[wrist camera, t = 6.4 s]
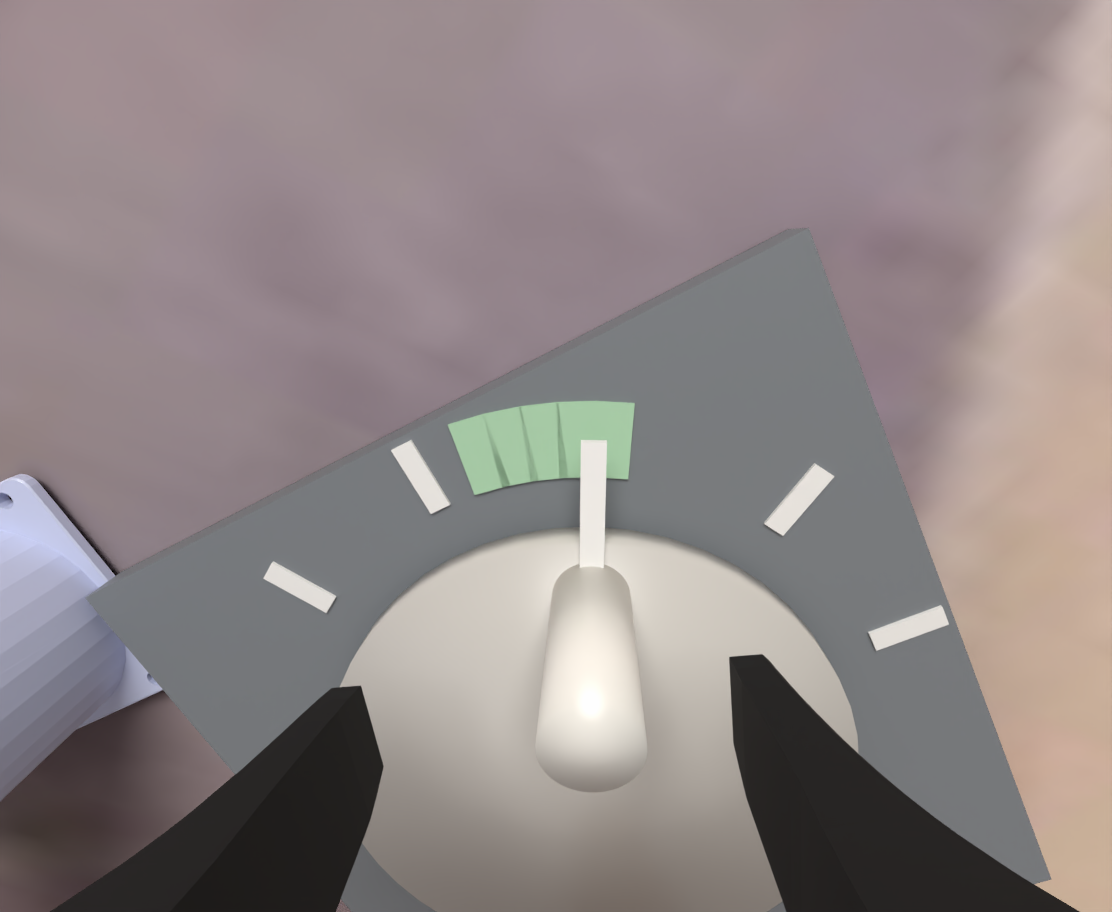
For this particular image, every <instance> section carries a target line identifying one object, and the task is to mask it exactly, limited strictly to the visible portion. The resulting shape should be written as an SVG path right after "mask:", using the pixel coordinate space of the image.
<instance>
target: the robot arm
mask: <svg viewBox="0 0 1112 912" xmlns="http://www.w3.org/2000/svg"><path fill="white" fill-rule="evenodd" d="M8 495H9V496H10V497H11V498H12V500H13V501H11V500H10V499H9V497H8ZM113 577H115V575H114V573H113V572H112V571H111V570H110V568H109V567H108V566H107V565H106V564H105V562H104V561H103V560H102V559H101V557H100V556H99V555H98V554H97V553H96V551H95V550H94V549H93V548H92V547H91V545H90V544H89V543H88V542H87V540H86V539H85V538H84V537H83V536H82V534H81V533H80V532H79V531H78V530H77V528H76V527H75V526H74V525H73V523H72V522H71V521H70V520H69V519H68V517H67V516H66V515H65V514H64V513H63V511H62V510H61V509H60V508H59V506H58V505H57V504H56V503H55V502H54V500H53V499H52V498H51V497H50V496H49V494H48V493H47V492H46V491H45V489H44V488H43V487H42V486H41V485H40V483H39V482H38V481H37V480H35V479H34V478H33V477H31V476H29V475H25V474H19V475H15V476H13V477H10V478H8V479H6V480H4V481H2V482H0V801H1V800H2V799H3V798H5V797H6V796H7V795H8V794H9V793H10V792H11V791H12V790H13V789H14V788H15V787H16V786H17V785H18V784H19V783H20V782H21V781H22V780H23V779H24V778H26V777H27V776H28V775H29V774H30V773H31V772H32V771H33V770H34V769H35V768H36V767H37V766H38V765H39V764H40V763H41V762H42V761H43V760H44V759H46V758H47V757H48V756H49V755H50V754H51V753H52V752H53V751H54V750H55V749H56V748H57V747H58V746H59V745H60V744H61V743H62V742H63V741H64V740H66V739H67V738H68V737H69V736H70V735H71V734H72V733H73V732H74V731H75V730H77V729H79V728H81V727H83V726H85V725H88V724H90V723H92V722H94V721H96V720H98V719H101V718H103V717H105V716H107V715H109V714H112V713H114V712H116V711H118V710H120V709H123V708H125V707H127V706H129V705H131V704H134V703H136V702H138V701H140V700H142V699H145V698H147V697H149V696H151V695H153V694H156V693H158V692H160V691H162V690H163V689H162V688H161V687H160V686H159V685H158V683H157V682H156V681H155V680H154V679H153V677H152V676H151V675H150V674H149V673H148V672H147V670H146V669H145V668H144V667H143V666H142V665H141V663H140V662H139V661H138V660H137V659H136V657H135V656H134V655H133V654H132V653H131V652H130V650H129V649H128V648H127V647H126V646H125V645H124V643H123V642H122V641H121V640H120V639H119V637H118V636H117V635H116V634H115V633H114V632H113V630H112V629H111V628H110V627H109V626H108V625H107V623H106V622H105V621H104V620H103V619H102V617H101V616H100V615H99V614H98V613H97V612H96V610H95V609H94V608H93V607H92V606H91V605H90V603H89V602H88V601H87V600H86V599H85V597H87V596H88V595H89V594H91V593H92V592H94V591H95V590H96V589H98V588H99V587H101V586H102V585H104V584H105V583H106V582H108V581H109V580H111V579H112V578H113ZM729 666H730V686H731V706H732V726H733V744H734V748H735V752H736V757H737V761H738V765H739V770H740V774H741V778H742V782H743V786H744V790H745V794H746V798H747V801H748V804H749V807H750V810H751V813H752V816H753V819H754V821H755V824H756V827H757V830H758V833H759V836H760V839H761V842H762V844H763V847H764V850H765V853H766V856H767V859H768V861H769V864H770V867H771V870H772V873H773V875H774V878H775V881H776V884H777V887H778V890H779V892H780V895H781V898H782V901H783V904H784V907H785V909H786V912H1079V911H1077V910H1076V909H1074V908H1072V907H1071V906H1069V905H1067V904H1066V903H1064V902H1062V901H1061V900H1059V899H1057V898H1056V897H1054V896H1052V895H1051V894H1049V893H1047V892H1046V891H1044V890H1042V889H1040V888H1039V887H1037V886H1036V885H1034V884H1032V883H1031V882H1029V881H1028V880H1026V879H1024V878H1023V877H1021V876H1020V875H1018V874H1017V873H1015V872H1013V871H1012V870H1010V869H1009V868H1007V867H1006V866H1004V865H1003V864H1001V863H1000V862H998V861H997V860H995V859H994V858H992V857H991V856H990V855H988V854H987V853H985V852H984V851H982V850H981V849H979V848H978V847H976V846H975V845H973V844H972V843H970V842H969V841H967V840H966V839H964V838H963V837H961V836H960V835H958V834H957V833H956V832H954V831H953V830H951V829H950V828H949V827H947V826H946V825H945V824H943V823H942V822H941V821H939V820H938V819H936V818H935V817H934V816H932V815H931V814H930V813H929V812H927V811H926V810H925V809H924V808H922V807H921V806H920V805H918V804H917V803H916V802H915V801H913V800H912V799H911V798H909V797H908V796H907V795H906V794H905V793H903V792H902V791H901V790H900V789H898V788H897V787H896V786H895V785H894V784H892V783H891V782H890V781H889V780H888V779H887V778H885V777H884V776H883V775H882V774H881V773H880V772H878V771H877V770H876V769H875V768H874V767H873V766H872V765H871V764H870V763H868V762H867V761H866V760H865V759H864V758H863V757H862V756H861V755H859V754H858V753H857V752H856V751H855V750H854V749H853V748H852V747H851V746H850V745H849V744H848V743H847V742H846V741H844V740H843V739H842V738H841V737H840V736H839V735H838V734H837V733H836V732H835V731H834V730H833V729H832V728H831V727H830V726H829V725H828V724H827V723H826V722H825V721H824V720H823V719H822V718H821V717H820V716H819V715H818V714H817V713H816V712H815V711H814V710H813V709H812V708H811V707H810V705H809V704H808V703H807V702H806V701H805V700H804V699H803V698H802V697H801V696H800V695H799V694H798V693H797V692H796V690H795V689H794V688H793V687H792V686H791V685H790V684H789V683H788V682H787V680H786V679H785V678H784V677H783V676H782V675H781V674H780V672H779V671H778V670H777V669H776V668H775V667H774V665H773V664H772V663H771V662H770V661H769V659H767V658H766V657H765V656H764V655H763V654H758V655H745V656H732V657H729ZM383 767H384V765H383V762H382V758H381V755H380V751H379V748H378V744H377V741H376V737H375V733H374V730H373V726H372V723H371V719H370V716H369V712H368V709H367V705H366V702H365V698H364V695H363V691H362V687H361V686H349V687H336V688H331V689H330V690H329V691H327V692H326V693H325V694H324V695H323V696H321V697H320V698H319V699H318V700H317V701H316V702H315V703H314V704H312V705H311V706H310V707H309V708H308V709H307V710H306V711H305V712H304V713H303V714H302V715H300V716H299V717H298V718H297V719H296V720H295V721H294V722H293V723H292V724H291V725H290V726H289V727H287V728H286V729H285V730H284V731H283V732H282V733H281V734H280V735H279V736H278V737H277V738H276V739H274V740H273V741H272V742H271V743H270V744H269V745H268V746H267V747H266V748H265V749H263V750H262V751H261V752H260V753H259V754H258V755H257V756H256V757H255V758H254V759H253V760H251V761H250V762H249V763H248V764H247V765H246V766H245V767H244V768H243V769H241V770H240V771H239V772H238V773H237V774H235V775H234V776H233V777H232V778H231V779H230V780H228V781H227V782H226V783H225V784H224V785H223V786H221V787H220V788H219V789H218V790H217V791H215V792H214V793H213V794H212V795H211V796H210V797H208V798H207V799H206V800H205V801H204V802H203V803H201V804H200V805H199V806H198V807H197V808H196V809H194V810H193V811H192V812H191V813H189V814H188V815H187V816H186V817H184V818H183V819H182V820H181V821H179V822H178V823H177V824H175V825H174V826H173V827H172V828H170V829H169V830H168V831H166V832H165V833H164V834H162V835H161V836H160V837H158V838H157V839H156V840H154V841H153V842H152V843H150V844H149V845H148V846H146V847H145V848H144V849H142V850H141V851H139V852H138V853H137V854H135V855H134V856H133V857H131V858H130V859H128V860H127V861H126V862H124V863H123V864H121V865H120V866H118V867H117V868H115V869H114V870H112V871H111V872H109V873H108V874H106V875H105V876H103V877H102V878H100V879H99V880H97V881H96V882H94V883H93V884H91V885H90V886H88V887H87V888H85V889H84V890H82V891H81V892H79V893H78V894H76V895H75V896H73V897H72V898H70V899H69V900H67V901H66V902H64V903H63V904H61V905H60V906H58V907H57V908H55V909H54V910H52V911H50V912H336V909H337V907H338V904H339V902H340V899H341V896H342V894H343V891H344V889H345V886H346V883H347V881H348V878H349V876H350V873H351V870H352V868H353V865H354V863H355V860H356V857H357V855H358V852H359V849H360V847H361V844H362V841H363V839H364V836H365V833H366V831H367V828H368V825H369V822H370V820H371V816H372V812H373V808H374V805H375V801H376V797H377V793H378V789H379V784H380V780H381V776H382V772H383Z"/></svg>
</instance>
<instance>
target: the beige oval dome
mask: <svg viewBox="0 0 1112 912" xmlns="http://www.w3.org/2000/svg"><path fill="white" fill-rule="evenodd" d="M606 465H607V440H581V473H580V527H571V528H552V529H546V530H540V531H534V532H527V533H521V534H516V535H513V536H510V537H506V538H503V539H499V540H496V541H492V542H489V543H485V544H483V545H480V546H478V547H476V548H473V549H471V550H469V551H466V552H464V553H462V554H460V555H457V556H455V557H453V558H451V559H449V560H448V561H446V562H444V563H443V564H441V565H439V566H438V567H436V568H434V569H433V570H431V571H429V572H428V573H426V574H424V575H423V576H422V577H421V578H419V579H418V580H417V581H416V582H414V583H413V584H412V585H411V586H409V587H408V588H407V589H406V590H405V591H403V592H402V593H401V594H400V595H399V596H398V597H397V598H396V599H395V600H394V601H393V602H392V603H391V604H390V605H389V607H388V608H387V609H386V610H385V611H384V612H383V613H382V614H381V615H380V616H379V618H378V619H377V621H376V622H375V624H374V625H373V627H372V628H371V630H370V631H369V633H368V634H367V636H366V637H365V639H364V640H363V642H362V644H361V646H360V647H359V649H358V651H357V653H356V654H355V656H354V658H353V660H352V661H351V663H350V665H349V668H348V670H347V672H346V674H345V676H344V679H343V681H342V683H341V685H340V687H349V686H361V687H362V691H363V695H364V698H365V702H366V705H367V709H368V712H369V716H370V719H371V723H372V726H373V730H374V733H375V737H376V741H377V744H378V748H379V751H380V755H381V758H382V762H383V765H384V767H383V772H382V776H381V780H380V784H379V789H378V793H377V797H376V801H375V805H374V808H373V812H372V816H371V820H370V822H369V825H368V828H367V831H366V833H365V836H364V839H363V841H362V844H363V845H364V846H365V848H366V849H367V850H368V852H369V853H370V854H371V855H372V857H373V858H374V859H375V861H376V862H377V863H378V864H379V865H380V866H381V867H382V868H383V869H384V870H385V871H386V872H387V873H388V874H389V875H390V876H391V877H392V878H393V879H394V880H395V881H396V882H397V883H398V884H399V885H400V886H402V887H403V888H404V889H405V890H407V891H408V892H409V893H410V894H412V895H413V896H414V897H415V898H417V899H418V900H419V901H421V902H422V903H424V904H425V905H427V906H428V907H430V908H432V909H433V910H435V911H436V912H767V911H769V910H770V909H772V908H773V907H775V906H776V905H778V904H779V903H781V902H782V898H781V895H780V892H779V890H778V887H777V884H776V881H775V878H774V875H773V873H772V870H771V867H770V864H769V861H768V859H767V856H766V853H765V850H764V847H763V844H762V842H761V839H760V836H759V833H758V830H757V827H756V824H755V821H754V819H753V816H752V813H751V810H750V807H749V804H748V801H747V798H746V794H745V790H744V786H743V782H742V778H741V774H740V770H739V765H738V761H737V757H736V752H735V748H734V744H733V726H732V706H731V686H730V666H729V657H732V656H745V655H758V654H763V655H764V656H765V657H766V658H767V659H769V661H770V662H771V663H772V664H773V665H774V667H775V668H776V669H777V670H778V671H779V672H780V674H781V675H782V676H783V677H784V678H785V679H786V680H787V682H788V683H789V684H790V685H791V686H792V687H793V688H794V689H795V690H796V692H797V693H798V694H799V695H800V696H801V697H802V698H803V699H804V700H805V701H806V702H807V703H808V704H809V705H810V707H811V708H812V709H813V710H814V711H815V712H816V713H817V714H818V715H819V716H820V717H821V718H822V719H823V720H824V721H825V722H826V723H827V724H828V725H829V726H830V727H831V728H832V729H833V730H834V731H835V732H836V733H837V734H838V735H839V736H840V737H841V738H842V739H843V740H844V741H846V742H847V743H848V744H849V745H850V746H851V747H852V748H853V749H854V750H855V751H856V752H857V753H858V736H857V731H856V727H855V722H854V718H853V714H852V710H851V706H850V704H849V701H848V699H847V697H846V694H845V692H844V689H843V687H842V685H841V682H840V680H839V678H838V676H837V674H836V673H835V671H834V669H833V667H832V666H831V664H830V662H829V660H828V658H827V657H826V655H825V653H824V652H823V650H822V648H821V647H820V645H819V644H818V642H817V641H816V639H815V637H814V636H813V634H812V633H811V631H810V629H809V628H808V627H807V626H806V625H805V624H804V622H803V621H802V620H801V619H800V618H799V617H798V615H797V614H796V613H795V612H794V611H793V610H792V609H791V607H790V606H789V605H788V604H787V603H786V602H784V601H783V600H782V599H781V598H780V597H779V596H777V595H776V594H775V593H774V592H773V591H772V590H770V589H769V588H768V587H767V586H766V585H765V584H763V583H762V582H761V581H759V580H758V579H756V578H754V577H753V576H751V575H750V574H748V573H747V572H745V571H744V570H742V569H740V568H739V567H737V566H736V565H734V564H732V563H730V562H728V561H726V560H724V559H722V558H720V557H718V556H716V555H714V554H711V553H709V552H707V551H705V550H703V549H701V548H698V547H695V546H692V545H689V544H686V543H683V542H680V541H677V540H674V539H671V538H668V537H663V536H658V535H653V534H649V533H644V532H639V531H634V530H627V529H615V528H605V505H606ZM858 754H859V753H858Z"/></svg>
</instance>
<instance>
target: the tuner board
mask: <svg viewBox="0 0 1112 912" xmlns="http://www.w3.org/2000/svg"><path fill="white" fill-rule="evenodd" d="M581 440H607V465H606V505H605V528H615V529H627V530H634V531H639V532H644V533H649V534H653V535H658V536H663V537H668V538H671V539H674V540H677V541H680V542H683V543H686V544H689V545H692V546H695V547H698V548H701V549H703V550H705V551H707V552H709V553H711V554H714V555H716V556H718V557H720V558H722V559H724V560H726V561H728V562H730V563H732V564H734V565H736V566H737V567H739V568H740V569H742V570H744V571H745V572H747V573H748V574H750V575H751V576H753V577H754V578H756V579H758V580H759V581H761V582H762V583H763V584H765V585H766V586H767V587H768V588H769V589H770V590H772V591H773V592H774V593H775V594H776V595H777V596H779V597H780V598H781V599H782V600H783V601H784V602H786V603H787V604H788V605H789V606H790V607H791V609H792V610H793V611H794V612H795V613H796V614H797V615H798V617H799V618H800V619H801V620H802V621H803V622H804V624H805V625H806V626H807V627H808V628H809V629H810V631H811V633H812V634H813V636H814V637H815V639H816V641H817V642H818V644H819V645H820V647H821V648H822V650H823V652H824V653H825V655H826V657H827V658H828V660H829V662H830V664H831V666H832V667H833V669H834V671H835V673H836V674H837V676H838V678H839V680H840V682H841V685H842V687H843V689H844V692H845V694H846V697H847V699H848V701H849V704H850V706H851V710H852V714H853V718H854V722H855V727H856V731H857V736H858V753H859V755H861V756H862V757H863V758H864V759H865V760H866V761H867V762H868V763H870V764H871V765H872V766H873V767H874V768H875V769H876V770H877V771H878V772H880V773H881V774H882V775H883V776H884V777H885V778H887V779H888V780H889V781H890V782H891V783H892V784H894V785H895V786H896V787H897V788H898V789H900V790H901V791H902V792H903V793H905V794H906V795H907V796H908V797H909V798H911V799H912V800H913V801H915V802H916V803H917V804H918V805H920V806H921V807H922V808H924V809H925V810H926V811H927V812H929V813H930V814H931V815H932V816H934V817H935V818H936V819H938V820H939V821H941V822H942V823H943V824H945V825H946V826H947V827H949V828H950V829H951V830H953V831H954V832H956V833H957V834H958V835H960V836H961V837H963V838H964V839H966V840H967V841H969V842H970V843H972V844H973V845H975V846H976V847H978V848H979V849H981V850H982V851H984V852H985V853H987V854H988V855H990V856H991V857H992V858H994V859H995V860H997V861H998V862H1000V863H1001V864H1003V865H1004V866H1006V867H1007V868H1009V869H1010V870H1012V871H1013V872H1015V873H1017V874H1018V875H1020V876H1021V877H1023V878H1024V879H1026V880H1028V881H1029V882H1031V883H1032V884H1036V883H1040V882H1043V881H1047V880H1051V877H1050V874H1049V872H1048V869H1047V866H1046V864H1045V861H1044V858H1043V856H1042V853H1041V850H1040V847H1039V845H1038V842H1037V839H1036V837H1035V834H1034V831H1033V829H1032V826H1031V823H1030V821H1029V818H1028V815H1027V813H1026V810H1025V807H1024V805H1023V802H1022V799H1021V796H1020V794H1019V791H1018V788H1017V786H1016V783H1015V780H1014V778H1013V775H1012V772H1011V770H1010V767H1009V764H1008V762H1007V759H1006V756H1005V754H1004V751H1003V748H1002V745H1001V743H1000V740H999V737H998V735H997V732H996V729H995V727H994V724H993V721H992V719H991V716H990V713H989V711H988V708H987V705H986V703H985V700H984V697H983V695H982V692H981V689H980V686H979V684H978V681H977V678H976V676H975V673H974V670H973V668H972V665H971V662H970V660H969V657H968V654H967V652H966V649H965V646H964V644H963V641H962V638H961V635H960V633H959V630H958V627H957V625H956V622H955V619H954V617H953V614H952V611H951V609H950V606H949V603H948V601H947V598H946V595H945V593H944V590H943V587H942V584H941V582H940V579H939V576H938V574H937V571H936V568H935V566H934V563H933V560H932V558H931V555H930V552H929V550H928V547H927V544H926V542H925V539H924V536H923V533H922V531H921V528H920V525H919V523H918V520H917V517H916V515H915V512H914V509H913V507H912V504H911V501H910V499H909V496H908V493H907V491H906V488H905V485H904V482H903V480H902V477H901V474H900V472H899V469H898V466H897V464H896V461H895V458H894V456H893V453H892V450H891V448H890V445H889V442H888V440H887V437H886V434H885V431H884V429H883V426H882V423H881V421H880V418H879V415H878V413H877V410H876V407H875V405H874V402H873V399H872V397H871V394H870V391H869V389H868V386H867V383H866V380H865V378H864V375H863V372H862V370H861V367H860V364H859V362H858V359H857V356H856V354H855V351H854V348H853V346H852V343H851V340H850V338H849V335H848V332H847V329H846V327H845V324H844V321H843V319H842V316H841V313H840V311H839V308H838V305H837V303H836V300H835V297H834V295H833V292H832V289H831V287H830V284H829V281H828V278H827V276H826V273H825V270H824V268H823V265H822V262H821V260H820V257H819V254H818V252H817V249H816V246H815V244H814V241H813V238H812V236H811V233H810V230H809V228H800V229H788V230H786V231H784V232H782V233H780V234H778V235H776V236H774V237H772V238H770V239H768V240H766V241H764V242H763V243H761V244H759V245H757V246H755V247H753V248H751V249H749V250H747V251H745V252H743V253H741V254H739V255H737V256H735V257H733V258H731V259H729V260H727V261H726V262H724V263H722V264H720V265H718V266H716V267H714V268H712V269H710V270H708V271H706V272H704V273H702V274H700V275H698V276H696V277H694V278H692V279H691V280H689V281H687V282H685V283H683V284H681V285H679V286H677V287H675V288H673V289H671V290H669V291H667V292H665V293H663V294H661V295H659V296H657V297H655V298H654V299H652V300H650V301H648V302H646V303H644V304H642V305H640V306H638V307H636V308H634V309H632V310H630V311H628V312H626V313H624V314H622V315H620V316H618V317H617V318H615V319H613V320H611V321H609V322H607V323H605V324H603V325H601V326H599V327H597V328H595V329H593V330H591V331H589V332H587V333H585V334H583V335H582V336H580V337H578V338H576V339H574V340H572V341H570V342H568V343H566V344H564V345H562V346H560V347H558V348H556V349H554V350H552V351H550V352H548V353H546V354H545V355H543V356H541V357H539V358H537V359H535V360H533V361H531V362H529V363H527V364H525V365H523V366H521V367H519V368H517V369H515V370H513V371H511V372H509V373H508V374H506V375H504V376H502V377H500V378H498V379H496V380H494V381H492V382H490V383H488V384H486V385H484V386H482V387H480V388H478V389H476V390H474V391H473V392H471V393H469V394H467V395H465V396H463V397H461V398H459V399H457V400H455V401H453V402H451V403H449V404H447V405H445V406H443V407H441V408H439V409H437V410H436V411H434V412H432V413H430V414H428V415H426V416H424V417H422V418H420V419H418V420H416V421H414V422H412V423H410V424H408V425H406V426H404V427H402V428H400V429H399V430H397V431H395V432H393V433H391V434H389V435H387V436H385V437H383V438H381V439H379V440H377V441H375V442H373V443H371V444H369V445H367V446H365V447H364V448H362V449H360V450H358V451H356V452H354V453H352V454H350V455H348V456H346V457H344V458H342V459H340V460H338V461H336V462H334V463H332V464H330V465H328V466H327V467H325V468H323V469H321V470H319V471H317V472H315V473H313V474H311V475H309V476H307V477H305V478H303V479H301V480H299V481H297V482H295V483H293V484H291V485H290V486H288V487H286V488H284V489H282V490H280V491H278V492H276V493H274V494H272V495H270V496H268V497H266V498H264V499H262V500H260V501H258V502H256V503H255V504H253V505H251V506H249V507H247V508H245V509H243V510H241V511H239V512H237V513H235V514H233V515H231V516H229V517H227V518H225V519H223V520H221V521H219V522H218V523H216V524H214V525H212V526H210V527H208V528H206V529H204V530H202V531H200V532H198V533H196V534H194V535H192V536H190V537H188V538H186V539H184V540H182V541H181V542H179V543H177V544H175V545H173V546H171V547H169V548H167V549H165V550H163V551H161V552H159V553H157V554H155V555H153V556H151V557H149V558H147V559H146V560H144V561H142V562H140V563H138V564H136V565H134V566H132V567H130V568H128V569H126V570H124V571H122V572H121V573H119V574H118V575H116V576H115V577H113V578H112V579H111V580H109V581H108V582H106V583H105V584H104V585H102V586H101V587H99V588H98V589H96V590H95V591H94V592H92V593H91V594H89V595H88V596H87V597H85V599H86V600H87V601H88V602H89V603H90V605H91V606H92V607H93V608H94V609H95V610H96V612H97V613H98V614H99V615H100V616H101V617H102V619H103V620H104V621H105V622H106V623H107V625H108V626H109V627H110V628H111V629H112V630H113V632H114V633H115V634H116V635H117V636H118V637H119V639H120V640H121V641H122V642H123V643H124V645H125V646H126V647H127V648H128V649H129V650H130V652H131V653H132V654H133V655H134V656H135V657H136V659H137V660H138V661H139V662H140V663H141V665H142V666H143V667H144V668H145V669H146V670H147V672H148V673H149V674H150V675H151V676H152V677H153V679H154V680H155V681H156V682H157V683H158V685H159V686H160V687H161V688H162V689H163V690H164V692H165V693H166V694H167V695H168V696H169V697H170V699H171V700H172V701H173V702H174V703H175V705H176V706H177V707H178V708H179V709H180V710H181V712H182V713H183V714H184V715H185V716H186V717H187V719H188V720H189V721H190V722H191V723H192V725H193V726H194V727H195V728H196V729H197V730H198V732H199V733H200V734H201V735H202V736H203V737H204V739H205V740H206V741H207V742H208V743H209V745H210V746H211V747H212V748H213V749H214V750H215V752H216V753H217V754H218V755H219V756H220V757H221V759H222V760H223V761H224V762H225V763H226V765H227V766H228V767H229V768H230V769H231V770H232V772H233V773H234V774H237V773H238V772H239V771H240V770H241V769H243V768H244V767H245V766H246V765H247V764H248V763H249V762H250V761H251V760H253V759H254V758H255V757H256V756H257V755H258V754H259V753H260V752H261V751H262V750H263V749H265V748H266V747H267V746H268V745H269V744H270V743H271V742H272V741H273V740H274V739H276V738H277V737H278V736H279V735H280V734H281V733H282V732H283V731H284V730H285V729H286V728H287V727H289V726H290V725H291V724H292V723H293V722H294V721H295V720H296V719H297V718H298V717H299V716H300V715H302V714H303V713H304V712H305V711H306V710H307V709H308V708H309V707H310V706H311V705H312V704H314V703H315V702H316V701H317V700H318V699H319V698H320V697H321V696H323V695H324V694H325V693H326V692H327V691H329V690H330V689H331V688H336V687H340V685H341V683H342V681H343V679H344V676H345V674H346V672H347V670H348V668H349V665H350V663H351V661H352V660H353V658H354V656H355V654H356V653H357V651H358V649H359V647H360V646H361V644H362V642H363V640H364V639H365V637H366V636H367V634H368V633H369V631H370V630H371V628H372V627H373V625H374V624H375V622H376V621H377V619H378V618H379V616H380V615H381V614H382V613H383V612H384V611H385V610H386V609H387V608H388V607H389V605H390V604H391V603H392V602H393V601H394V600H395V599H396V598H397V597H398V596H399V595H400V594H401V593H402V592H403V591H405V590H406V589H407V588H408V587H409V586H411V585H412V584H413V583H414V582H416V581H417V580H418V579H419V578H421V577H422V576H423V575H424V574H426V573H428V572H429V571H431V570H433V569H434V568H436V567H438V566H439V565H441V564H443V563H444V562H446V561H448V560H449V559H451V558H453V557H455V556H457V555H460V554H462V553H464V552H466V551H469V550H471V549H473V548H476V547H478V546H480V545H483V544H485V543H489V542H492V541H496V540H499V539H503V538H506V537H510V536H513V535H516V534H521V533H527V532H534V531H540V530H546V529H552V528H571V527H580V473H581ZM341 900H342V901H343V902H344V903H345V905H346V906H347V907H348V908H349V909H350V910H351V912H436V911H435V910H433V909H432V908H430V907H428V906H427V905H425V904H424V903H422V902H421V901H419V900H418V899H417V898H415V897H414V896H413V895H412V894H410V893H409V892H408V891H407V890H405V889H404V888H403V887H402V886H400V885H399V884H398V883H397V882H396V881H395V880H394V879H393V878H392V877H391V876H390V875H389V874H388V873H387V872H386V871H385V870H384V869H383V868H382V867H381V866H380V865H379V864H378V863H377V862H376V861H375V859H374V858H373V857H372V855H371V854H370V853H369V852H368V850H367V849H366V848H365V846H364V845H363V844H361V847H360V849H359V852H358V855H357V857H356V860H355V863H354V865H353V868H352V870H351V873H350V876H349V878H348V881H347V883H346V886H345V889H344V891H343V894H342V896H341ZM767 912H786V909H785V907H784V904H783V901H782V902H781V903H779V904H778V905H776V906H775V907H773V908H772V909H770V910H769V911H767Z"/></svg>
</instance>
